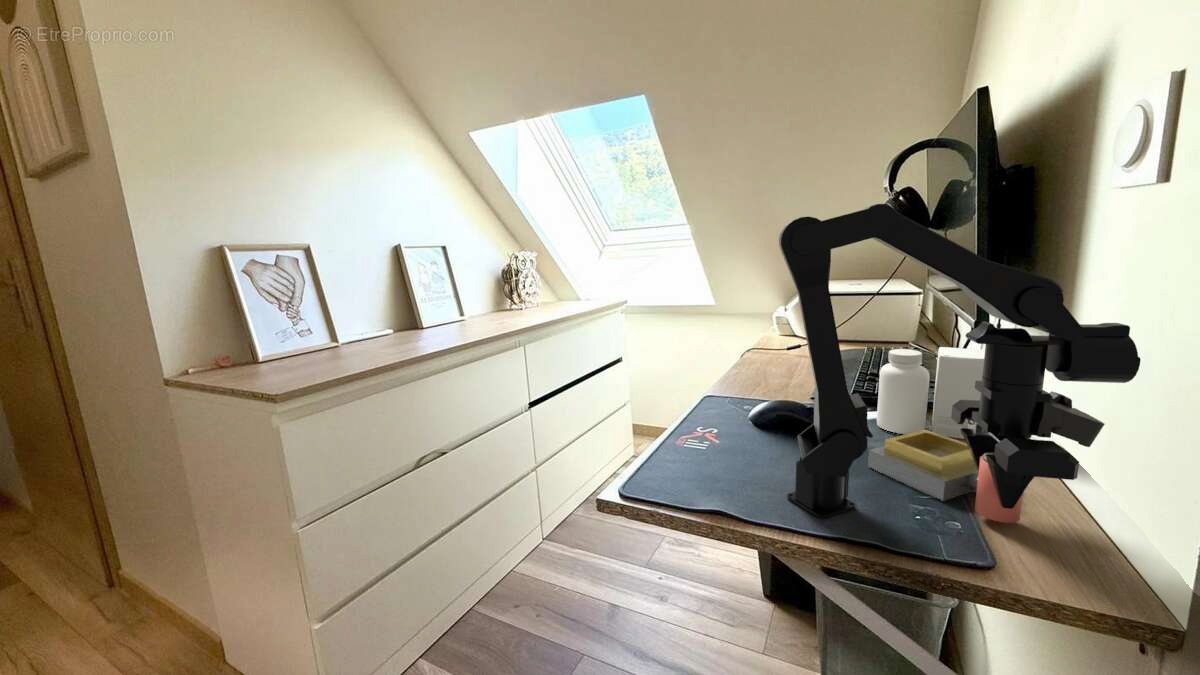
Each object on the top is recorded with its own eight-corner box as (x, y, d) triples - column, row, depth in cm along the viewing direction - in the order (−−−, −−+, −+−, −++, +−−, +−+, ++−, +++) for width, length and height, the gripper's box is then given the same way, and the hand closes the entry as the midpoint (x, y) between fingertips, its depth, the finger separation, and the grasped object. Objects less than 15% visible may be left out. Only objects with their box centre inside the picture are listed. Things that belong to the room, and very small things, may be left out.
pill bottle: (883, 435, 92) (888, 356, 89) (871, 420, 100) (875, 347, 97) (932, 437, 90) (938, 356, 87) (915, 422, 98) (921, 347, 95)
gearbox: (965, 512, 66) (969, 477, 65) (867, 467, 80) (869, 438, 79) (1022, 491, 70) (1026, 458, 69) (920, 452, 84) (922, 424, 83)
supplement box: (993, 444, 86) (1002, 360, 83) (931, 435, 91) (938, 355, 88) (989, 427, 93) (997, 349, 91) (932, 420, 98) (938, 345, 96)
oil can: (1005, 526, 61) (1012, 469, 59) (966, 508, 65) (972, 455, 63) (1028, 517, 62) (1035, 462, 61) (989, 500, 66) (994, 448, 65)
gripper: (1154, 407, 49) (1130, 551, 52) (1052, 362, 66) (1038, 472, 69) (1017, 401, 52) (1001, 536, 55) (954, 360, 70) (945, 464, 73)
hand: (998, 498), depth 63 cm, fingers closed on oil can, 4 cm apart
